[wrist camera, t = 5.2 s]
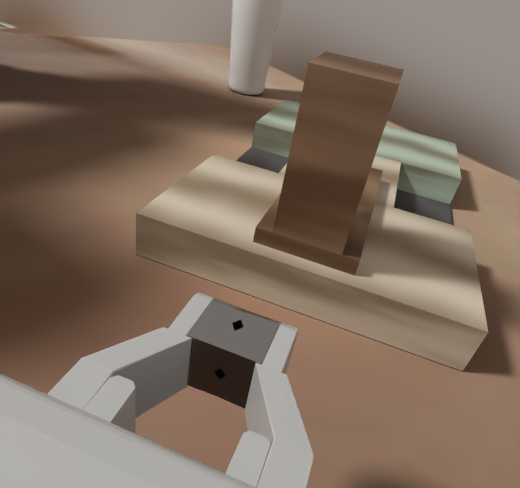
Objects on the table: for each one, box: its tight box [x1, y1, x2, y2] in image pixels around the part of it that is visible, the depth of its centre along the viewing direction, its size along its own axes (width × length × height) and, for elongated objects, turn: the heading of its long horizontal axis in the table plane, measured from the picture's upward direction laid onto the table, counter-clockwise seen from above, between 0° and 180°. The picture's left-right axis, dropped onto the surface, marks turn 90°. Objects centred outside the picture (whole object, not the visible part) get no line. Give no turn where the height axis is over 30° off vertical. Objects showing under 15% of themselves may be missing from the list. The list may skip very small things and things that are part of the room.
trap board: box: [136, 99, 488, 371], centre depth 37 cm, size 32×20×3 cm, turn 161°
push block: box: [253, 52, 403, 276], centre depth 27 cm, size 14×6×10 cm, turn 161°
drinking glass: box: [228, 0, 284, 95], centre depth 58 cm, size 7×7×15 cm
